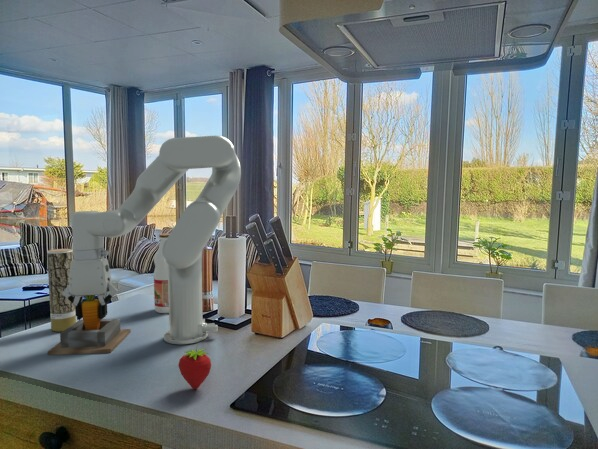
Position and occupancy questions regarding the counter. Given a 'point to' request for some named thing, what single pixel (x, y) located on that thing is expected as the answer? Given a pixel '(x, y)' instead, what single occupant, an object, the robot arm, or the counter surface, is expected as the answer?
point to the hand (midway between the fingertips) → (91, 317)
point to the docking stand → (90, 338)
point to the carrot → (91, 313)
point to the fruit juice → (161, 279)
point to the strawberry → (195, 367)
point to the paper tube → (60, 289)
